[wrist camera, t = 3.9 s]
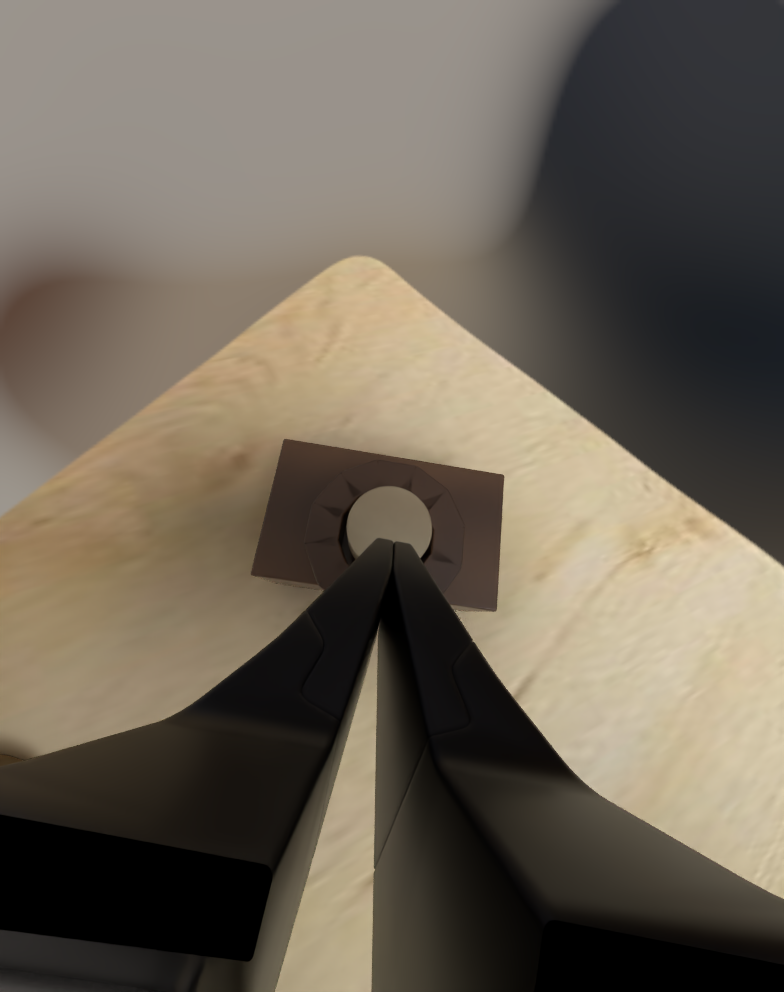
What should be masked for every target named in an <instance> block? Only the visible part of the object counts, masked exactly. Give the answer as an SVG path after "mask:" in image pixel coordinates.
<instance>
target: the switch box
mask: <svg viewBox="0 0 784 992" xmlns="http://www.w3.org/2000/svg"><path fill="white" fill-rule="evenodd" d="M383 486H395V487H400V488H403V489H406V490H408V491H410V492H412V493H413V494H414V495H416V496H417V497H418V498H419V499H420V500H421V501H422V502H423V503H424V505H425V506H426V508H427V510H428V512H429V514H430V517H431V522H432V536H431V540H430V544H429V546H428V548H427V550H426V551H425V553H424V554H423V555H422V557H421V558H420V559H421V560H422V562H423V563H424V565H425V566H426V568H427V570H428V571H429V573H430V574H431V576H432V577H433V579H434V580H435V582H436V584H437V585H438V587H439V588H440V590H441V591H442V593H443V594H444V596H445V598H446V599H447V601H448V602H449V604H450V605H451V607H452V608H453V610H460V611H492V612H494V611H496V610H497V596H498V578H499V560H500V541H501V523H502V505H503V486H504V475H501V474H495V473H489V472H483V471H477V470H471V469H465V468H459V467H453V466H447V465H441V464H435V463H428V462H422V461H416V460H410V459H404V458H398V457H392V456H386V455H380V454H374V453H368V452H362V451H356V450H350V449H343V448H337V447H331V446H325V445H319V444H313V443H307V442H301V441H295V440H289V439H284V441H283V444H282V449H281V453H280V457H279V461H278V465H277V469H276V473H275V477H274V481H273V485H272V489H271V493H270V497H269V501H268V505H267V510H266V514H265V518H264V522H263V526H262V530H261V534H260V538H259V542H258V546H257V550H256V554H255V558H254V562H253V566H252V570H251V575H252V576H255V577H258V578H261V579H264V580H267V581H270V582H273V583H277V584H283V585H290V586H297V587H304V588H311V589H317V590H324V591H325V590H326V589H327V588H328V587H329V586H330V585H331V584H332V583H333V582H334V581H335V580H336V579H337V578H338V577H339V576H340V575H341V574H342V573H343V572H344V571H345V570H346V569H347V568H348V567H349V566H350V565H351V564H352V563H353V562H354V561H355V558H354V557H353V555H352V553H351V551H350V548H349V545H348V538H347V519H348V515H349V512H350V510H351V508H352V506H353V505H354V503H355V502H356V501H357V500H358V499H359V498H360V497H361V496H362V495H363V494H364V493H366V492H368V491H369V490H372V489H374V488H378V487H383Z"/></svg>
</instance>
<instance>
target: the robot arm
mask: <svg viewBox="0 0 784 992" xmlns="http://www.w3.org/2000/svg"><path fill="white" fill-rule="evenodd" d="M378 627H379V631H378ZM377 631H378V670H377V725H376V779H375V834H374V869H375V871H374V884H373V940H372V992H784V899H782V898H780V897H778V896H776V895H774V894H772V893H770V892H768V891H766V890H764V889H762V888H760V887H758V886H756V885H755V884H753V883H751V882H749V881H747V880H745V879H744V878H742V877H740V876H738V875H737V874H735V873H733V872H731V871H730V870H728V869H726V868H724V867H723V866H721V865H719V864H718V863H716V862H714V861H712V860H711V859H709V858H707V857H705V856H704V855H702V854H700V853H698V852H697V851H695V850H693V849H692V848H690V847H688V846H686V845H685V844H683V843H681V842H679V841H678V840H676V839H674V838H672V837H671V836H669V835H667V834H666V833H664V832H662V831H660V830H659V829H657V828H655V827H653V826H652V825H650V824H648V823H646V822H645V821H643V820H641V819H640V818H638V817H636V816H634V815H633V814H631V813H629V812H627V811H626V810H624V809H622V808H620V807H619V806H617V805H615V804H614V803H612V802H610V801H608V800H607V799H605V798H604V797H602V796H600V795H599V794H598V793H596V792H595V791H594V790H592V789H591V788H590V787H589V786H588V785H586V784H585V783H584V782H583V781H582V780H581V779H580V778H579V777H578V776H577V775H576V774H575V773H574V772H573V771H572V770H571V769H570V768H569V767H568V765H567V764H566V763H565V762H564V761H563V760H562V758H561V757H560V756H559V755H558V753H557V752H556V751H555V750H554V748H553V747H552V746H551V745H550V743H549V742H548V741H547V740H546V738H545V737H544V736H543V734H542V733H541V732H540V731H539V729H538V728H537V727H536V726H535V724H534V723H533V722H532V721H531V719H530V718H529V717H528V716H527V714H526V713H525V712H524V711H523V709H522V708H521V707H520V706H519V704H518V703H517V702H516V700H515V699H514V698H513V697H512V695H511V694H510V693H509V691H508V690H507V689H506V687H505V686H504V685H503V683H502V682H501V681H500V679H499V678H498V677H497V675H496V674H495V672H494V671H493V670H492V668H491V667H490V665H489V664H488V662H487V661H486V659H485V658H484V656H483V655H482V653H481V652H480V650H479V649H478V647H477V646H476V644H475V643H474V642H472V638H471V636H470V635H469V633H468V632H467V630H466V629H465V627H464V626H463V624H462V622H461V621H460V619H459V618H458V616H457V615H456V613H455V612H454V610H453V608H452V607H451V605H450V604H449V602H448V601H447V599H446V598H445V596H444V594H443V593H442V591H441V590H440V588H439V587H438V585H437V584H436V582H435V580H434V579H433V577H432V576H431V574H430V573H429V571H428V570H427V568H426V566H425V565H424V563H423V562H422V560H421V559H420V557H419V556H418V554H417V552H416V551H415V549H414V548H413V546H412V545H411V544H409V543H404V542H399V541H396V542H393V541H392V540H389V539H383V538H377V539H375V540H374V541H373V542H372V543H371V544H370V545H369V546H368V547H367V548H366V550H365V551H364V552H363V553H362V554H361V555H360V556H359V557H358V558H357V559H356V560H355V561H354V562H353V563H352V564H351V565H350V566H349V567H348V568H347V569H346V570H345V571H344V572H343V573H342V574H341V575H340V576H339V577H338V578H337V579H336V580H335V581H334V582H333V583H332V584H331V585H330V586H329V587H328V588H327V589H326V590H325V591H324V592H323V593H322V594H321V595H320V596H319V597H318V598H317V599H316V600H315V601H314V602H313V603H312V604H311V605H310V606H309V607H308V608H307V609H306V611H304V612H303V613H302V614H301V615H300V616H299V617H298V618H297V619H296V620H295V621H294V622H293V623H292V624H291V625H290V626H289V627H288V628H287V629H286V630H284V631H283V632H282V633H281V634H280V635H279V636H278V637H277V638H276V639H275V640H273V641H272V642H271V643H270V644H268V645H267V646H266V647H265V648H264V649H262V650H261V651H260V652H259V653H257V654H256V655H255V656H254V657H252V658H251V659H250V660H249V661H247V662H246V663H245V664H243V665H242V666H241V667H240V668H238V669H237V670H236V671H234V672H233V673H232V674H231V675H229V676H228V677H227V678H225V679H224V680H223V681H221V682H220V683H219V684H218V685H216V686H215V687H214V688H212V689H211V690H210V691H209V692H207V693H206V694H205V695H203V696H202V697H201V698H200V699H198V700H197V701H195V702H194V703H193V704H191V705H190V706H188V707H186V708H185V709H183V710H182V711H180V712H178V713H176V714H174V715H172V716H171V717H168V718H166V719H164V720H162V721H159V722H156V723H153V724H149V725H146V726H142V727H139V728H135V729H132V730H128V731H125V732H121V733H118V734H114V735H111V736H108V737H104V738H101V739H97V740H94V741H90V742H87V743H83V744H80V745H76V746H73V747H69V748H66V749H62V750H59V751H56V752H52V753H49V754H45V755H42V756H38V757H35V758H31V759H28V760H24V761H20V762H16V763H12V764H8V765H4V766H0V992H275V989H276V985H277V982H278V978H279V975H280V971H281V968H282V964H283V961H284V957H285V954H286V950H287V947H288V943H289V940H290V936H291V933H292V929H293V926H294V922H295V919H296V915H297V912H298V908H299V905H300V901H301V898H302V894H303V891H304V887H305V884H306V880H307V877H308V873H309V870H310V866H311V863H312V858H313V856H314V852H315V849H316V845H317V842H318V838H319V835H320V831H321V828H322V824H323V821H324V817H325V814H326V810H327V807H328V803H329V800H330V796H331V793H332V789H333V786H334V782H335V779H336V776H337V772H338V769H339V765H340V762H341V758H342V755H343V751H344V748H345V744H346V741H347V737H348V734H349V730H350V727H351V723H352V720H353V716H354V713H355V709H356V706H357V702H358V699H359V695H360V692H361V688H362V685H363V681H364V678H365V674H366V671H367V667H368V664H369V660H370V657H371V653H372V650H373V646H374V643H375V639H376V635H377Z"/></svg>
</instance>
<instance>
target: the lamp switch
mask: <svg viewBox="0 0 784 992" xmlns="http://www.w3.org/2000/svg"><path fill="white" fill-rule="evenodd" d="M431 536H432V522H431V517H430V514H429V512H428V510H427V508H426V506H425V505H424V503H423V502H422V501H421V500H420V499H419V498H418V497H417V496H416V495H414V494H413V493H412V492H410V491H408V490H406V489H403V488H400V487H395V486H383V487H378V488H374V489H372V490H369V491H368V492H366V493H364V494H363V495H362V496H361V497H360V498H359V499H358V500H357V501H356V502H355V503H354V505H353V506H352V508H351V510H350V512H349V515H348V519H347V538H348V545H349V548H350V551H351V553H352V555H353V557H354V558H355V560H356V559H357V558H358V557H359V556H360V555H361V554H362V553H363V552H364V551H365V550H366V548H367V547H368V546H369V545H370V544H371V543H372V542H373V541H374V540H375V539H377V538H383V539H389V540H392V541H393V542H396V541H399V542H404V543H409V544H411V545H412V546H413V548H414V549H415V551H416V552H417V554H418V556H419V557H420V558H421V557H422V555H423V554H424V553H425V551H426V550H427V548H428V546H429V544H430V540H431Z"/></svg>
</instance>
